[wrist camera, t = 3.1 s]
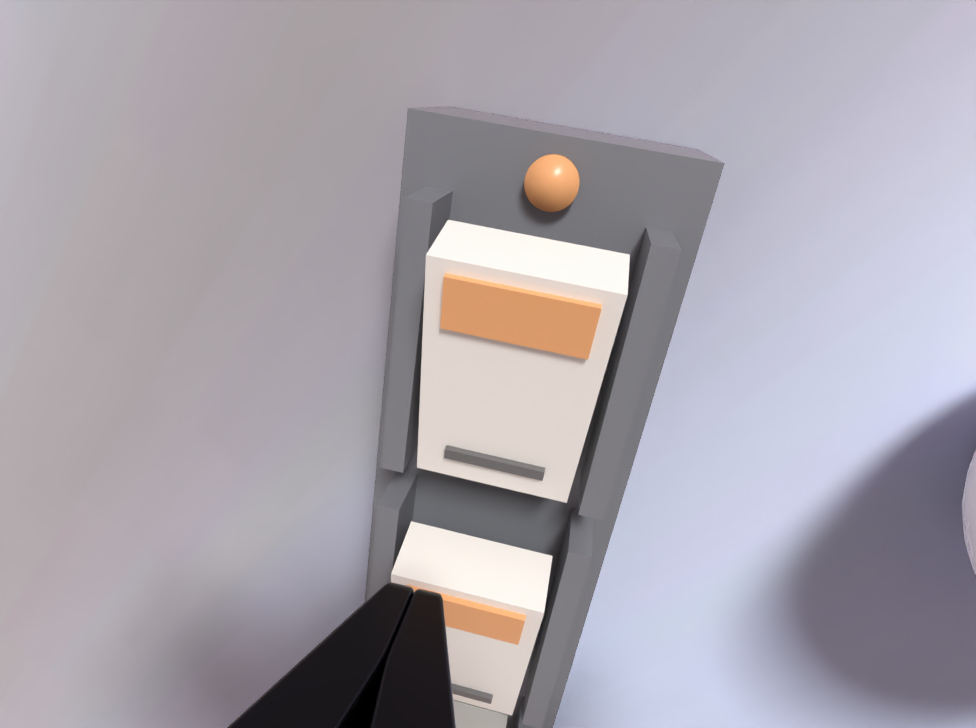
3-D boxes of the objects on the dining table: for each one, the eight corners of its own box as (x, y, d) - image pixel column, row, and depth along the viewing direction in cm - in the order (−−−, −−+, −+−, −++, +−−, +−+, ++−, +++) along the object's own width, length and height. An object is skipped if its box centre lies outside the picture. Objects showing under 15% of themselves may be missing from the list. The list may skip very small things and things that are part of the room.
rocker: (573, 455, 16) (566, 507, 15) (434, 424, 16) (415, 471, 15) (629, 254, 12) (627, 299, 11) (448, 219, 13) (423, 258, 11)
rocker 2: (521, 663, 19) (511, 721, 18) (407, 633, 20) (389, 687, 18) (552, 555, 16) (543, 619, 14) (411, 521, 16) (389, 579, 15)
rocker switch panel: (513, 799, 29) (493, 953, 24) (375, 759, 30) (325, 900, 24) (698, 149, 16) (741, 172, 11) (449, 106, 17) (380, 108, 12)
